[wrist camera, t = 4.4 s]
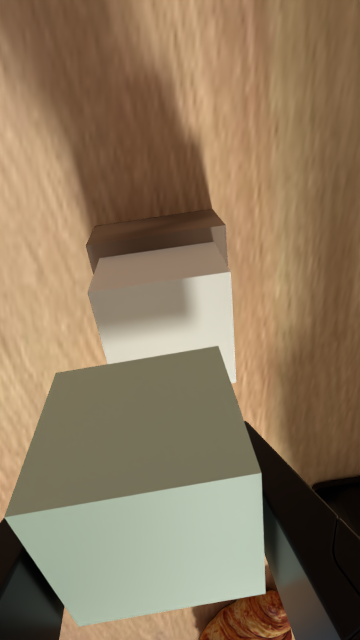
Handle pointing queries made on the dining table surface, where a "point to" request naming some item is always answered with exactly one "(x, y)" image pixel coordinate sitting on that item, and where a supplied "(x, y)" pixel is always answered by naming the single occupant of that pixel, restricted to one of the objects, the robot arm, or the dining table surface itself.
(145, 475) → the sage block
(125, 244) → the walnut base block
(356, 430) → the dining table surface
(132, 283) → the cream middle block
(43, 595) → the robot arm
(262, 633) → the croissant
